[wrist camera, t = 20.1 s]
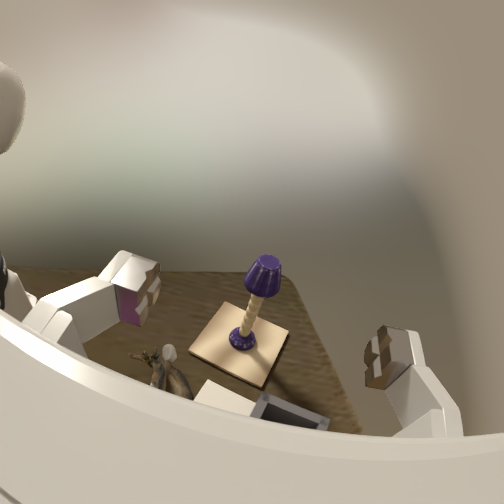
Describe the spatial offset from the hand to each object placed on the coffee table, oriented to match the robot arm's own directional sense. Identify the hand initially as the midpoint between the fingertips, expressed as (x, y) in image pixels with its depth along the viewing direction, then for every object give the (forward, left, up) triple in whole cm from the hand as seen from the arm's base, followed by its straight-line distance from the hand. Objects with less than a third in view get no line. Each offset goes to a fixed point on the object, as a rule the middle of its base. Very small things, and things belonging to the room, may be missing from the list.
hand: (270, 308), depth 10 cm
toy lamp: (-5, +21, -31) cm, 38 cm away
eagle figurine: (-10, +7, -32) cm, 34 cm away
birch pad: (-5, +21, -32) cm, 38 cm away
